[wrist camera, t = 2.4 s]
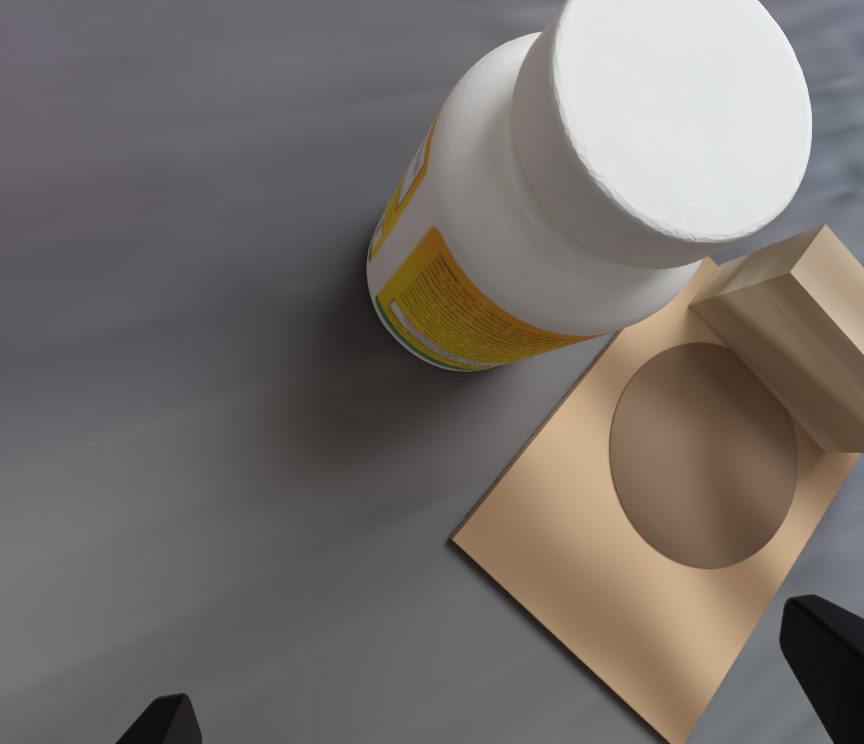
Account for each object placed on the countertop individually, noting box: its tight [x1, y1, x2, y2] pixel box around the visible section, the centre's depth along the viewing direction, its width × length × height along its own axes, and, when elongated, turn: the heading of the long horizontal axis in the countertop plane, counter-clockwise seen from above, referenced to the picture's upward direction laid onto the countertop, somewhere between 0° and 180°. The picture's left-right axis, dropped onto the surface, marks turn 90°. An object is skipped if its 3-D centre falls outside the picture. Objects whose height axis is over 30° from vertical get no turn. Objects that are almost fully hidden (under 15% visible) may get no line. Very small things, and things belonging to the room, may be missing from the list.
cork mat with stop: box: [450, 224, 864, 744], centre depth 22 cm, size 16×12×5 cm
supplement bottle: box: [367, 0, 812, 371], centre depth 16 cm, size 7×7×13 cm
